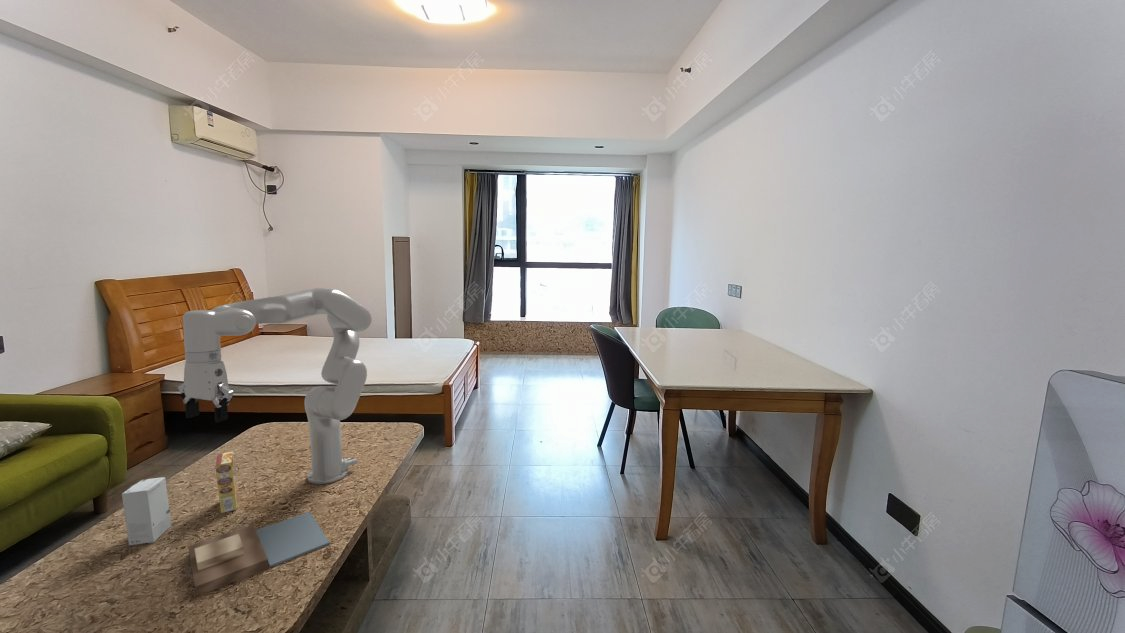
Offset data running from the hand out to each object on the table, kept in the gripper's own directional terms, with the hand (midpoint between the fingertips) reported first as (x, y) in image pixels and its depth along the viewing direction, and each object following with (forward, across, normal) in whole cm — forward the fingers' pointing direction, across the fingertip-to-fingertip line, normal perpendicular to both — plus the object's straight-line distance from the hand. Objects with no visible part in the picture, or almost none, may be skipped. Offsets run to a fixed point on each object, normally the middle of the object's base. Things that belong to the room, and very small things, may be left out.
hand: (207, 418), depth 124 cm
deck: (+32, -16, +9) cm, 37 cm away
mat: (+32, -24, -2) cm, 40 cm away
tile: (+30, -15, +11) cm, 35 cm away
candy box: (+32, +7, -11) cm, 34 cm away
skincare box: (+33, +14, +6) cm, 36 cm away
